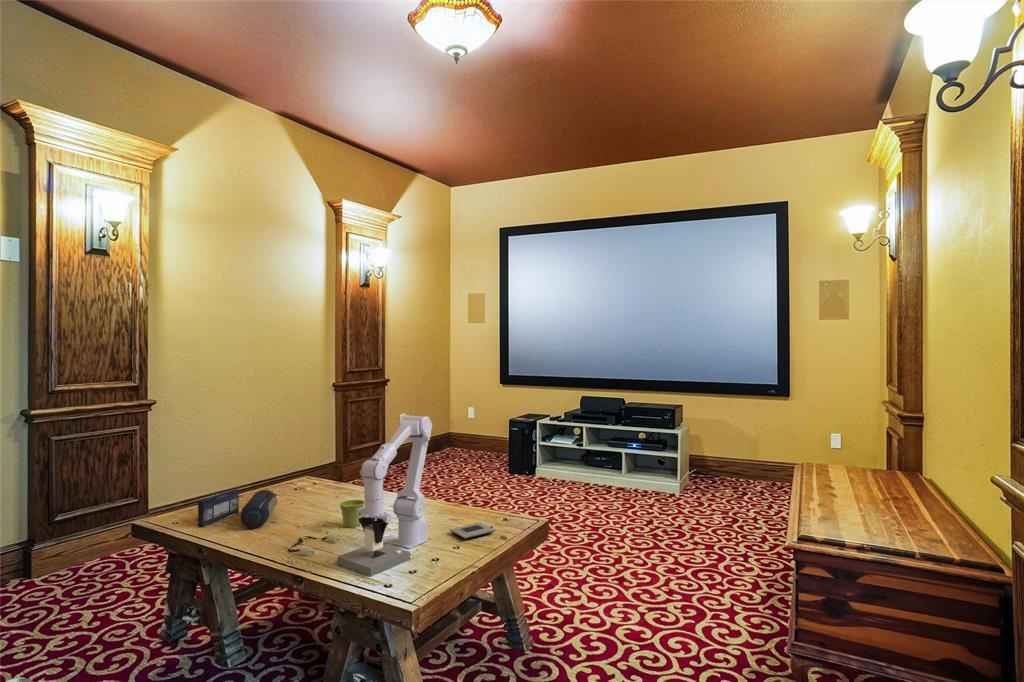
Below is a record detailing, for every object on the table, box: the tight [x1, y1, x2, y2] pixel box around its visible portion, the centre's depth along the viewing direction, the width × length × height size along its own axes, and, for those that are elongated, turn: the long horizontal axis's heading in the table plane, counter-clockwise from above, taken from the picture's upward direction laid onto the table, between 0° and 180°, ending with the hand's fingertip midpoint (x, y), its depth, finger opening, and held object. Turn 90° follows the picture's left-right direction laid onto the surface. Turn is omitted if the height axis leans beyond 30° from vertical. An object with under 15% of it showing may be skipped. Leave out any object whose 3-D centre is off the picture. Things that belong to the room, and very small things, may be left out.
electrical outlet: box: [449, 521, 497, 540], centre depth 206 cm, size 13×10×2 cm
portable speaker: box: [239, 489, 278, 529], centre depth 223 cm, size 25×10×10 cm, turn 13°
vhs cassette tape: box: [197, 488, 240, 528], centre depth 224 cm, size 18×3×10 cm, turn 162°
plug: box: [364, 524, 384, 551], centre depth 180 cm, size 4×4×7 cm
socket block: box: [336, 543, 411, 577], centre depth 180 cm, size 16×16×3 cm
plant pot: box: [338, 499, 365, 528], centre depth 216 cm, size 9×9×9 cm
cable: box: [287, 532, 341, 557], centre depth 195 cm, size 16×16×4 cm
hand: (373, 540), depth 180 cm, fingers closed on plug, 4 cm apart
